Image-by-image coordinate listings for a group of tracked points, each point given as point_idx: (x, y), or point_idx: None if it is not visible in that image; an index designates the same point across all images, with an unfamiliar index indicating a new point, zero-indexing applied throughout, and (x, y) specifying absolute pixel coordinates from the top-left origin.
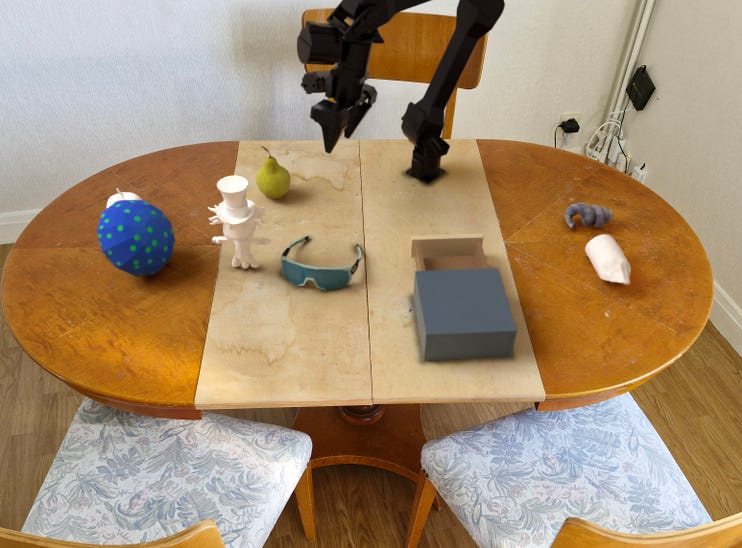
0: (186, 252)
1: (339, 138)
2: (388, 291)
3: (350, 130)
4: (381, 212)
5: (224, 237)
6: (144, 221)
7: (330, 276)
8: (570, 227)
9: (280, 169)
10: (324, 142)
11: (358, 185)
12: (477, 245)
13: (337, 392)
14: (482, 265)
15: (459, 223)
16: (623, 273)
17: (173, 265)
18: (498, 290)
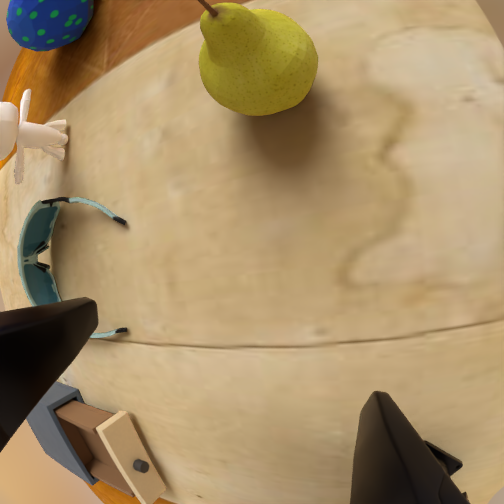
0: (97, 41)
1: (30, 407)
2: (74, 362)
3: (361, 458)
4: (247, 389)
5: (21, 107)
6: (8, 21)
7: (35, 289)
8: None
9: (233, 65)
10: (32, 310)
11: (374, 331)
12: (127, 491)
13: (3, 295)
14: (103, 477)
15: (238, 493)
16: None
17: (78, 47)
18: (68, 467)
